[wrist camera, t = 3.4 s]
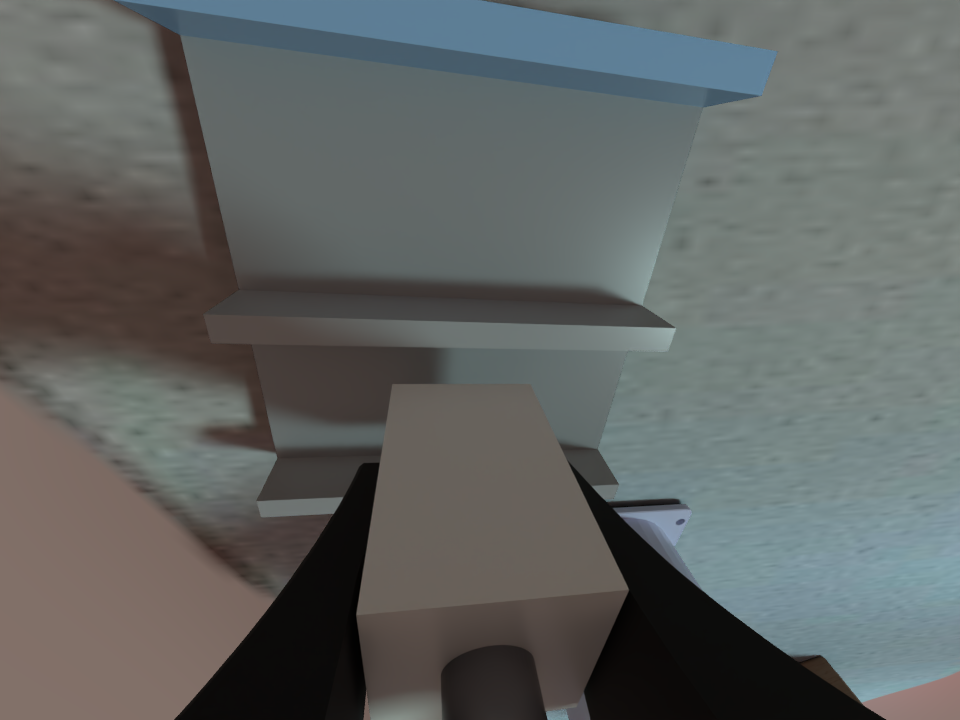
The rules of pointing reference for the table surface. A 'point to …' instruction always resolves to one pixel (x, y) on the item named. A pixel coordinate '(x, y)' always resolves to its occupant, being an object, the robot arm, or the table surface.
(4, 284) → the table surface
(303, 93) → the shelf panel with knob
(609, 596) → the plug
